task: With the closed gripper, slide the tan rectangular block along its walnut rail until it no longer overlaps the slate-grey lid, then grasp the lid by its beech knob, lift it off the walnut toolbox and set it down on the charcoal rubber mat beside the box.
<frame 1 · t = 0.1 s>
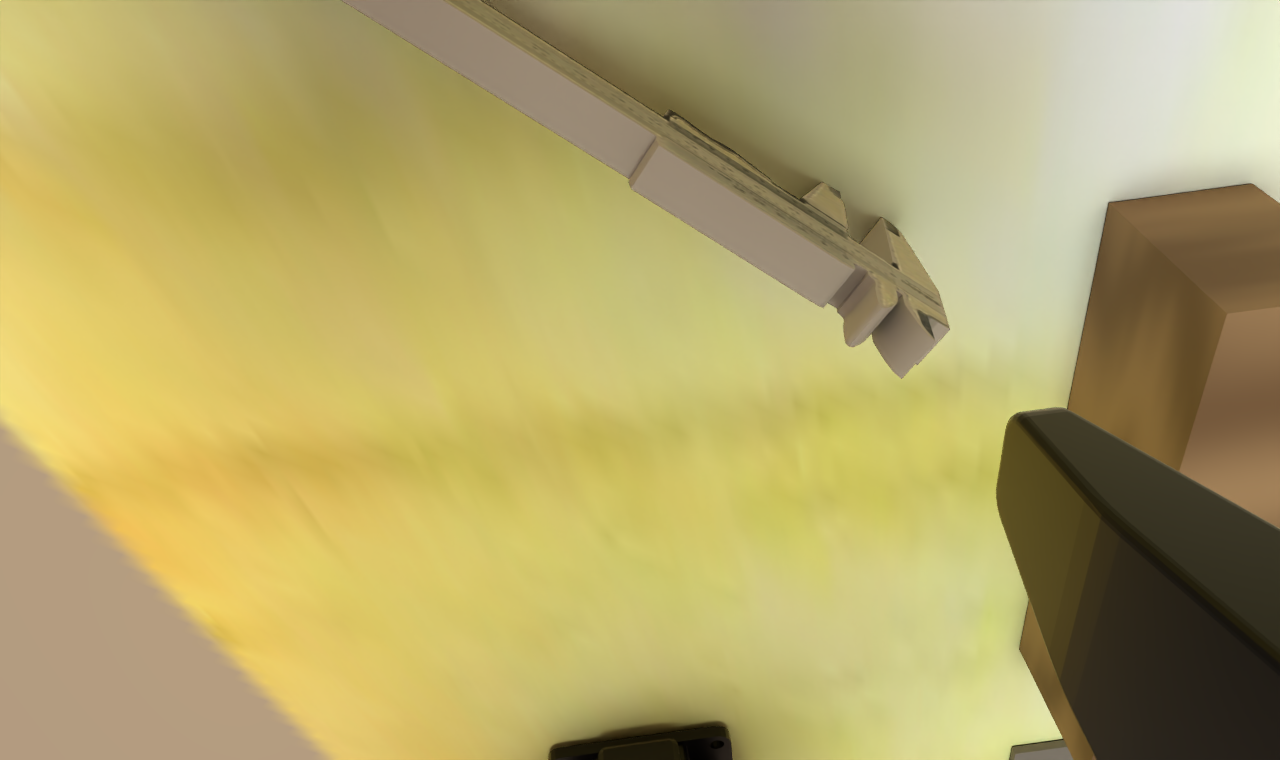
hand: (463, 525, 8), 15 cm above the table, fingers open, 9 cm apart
caliper: (507, 17, 20), on the table
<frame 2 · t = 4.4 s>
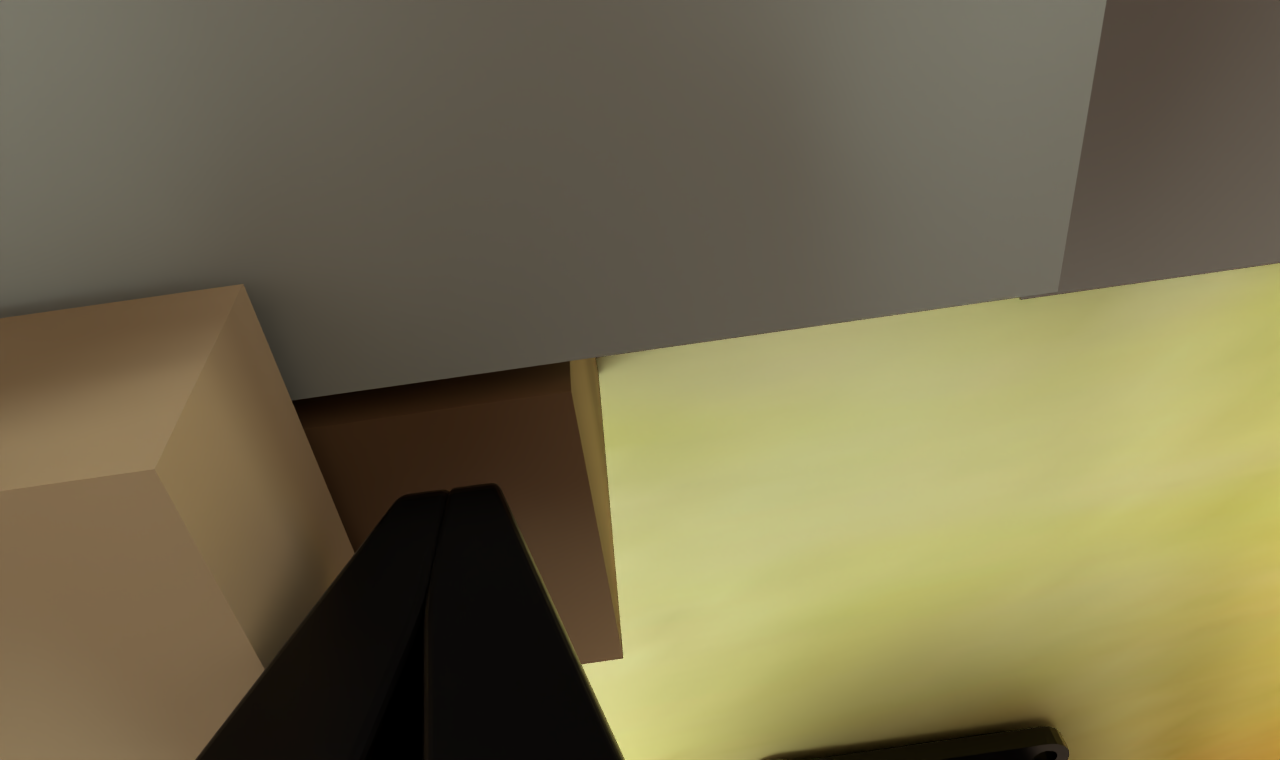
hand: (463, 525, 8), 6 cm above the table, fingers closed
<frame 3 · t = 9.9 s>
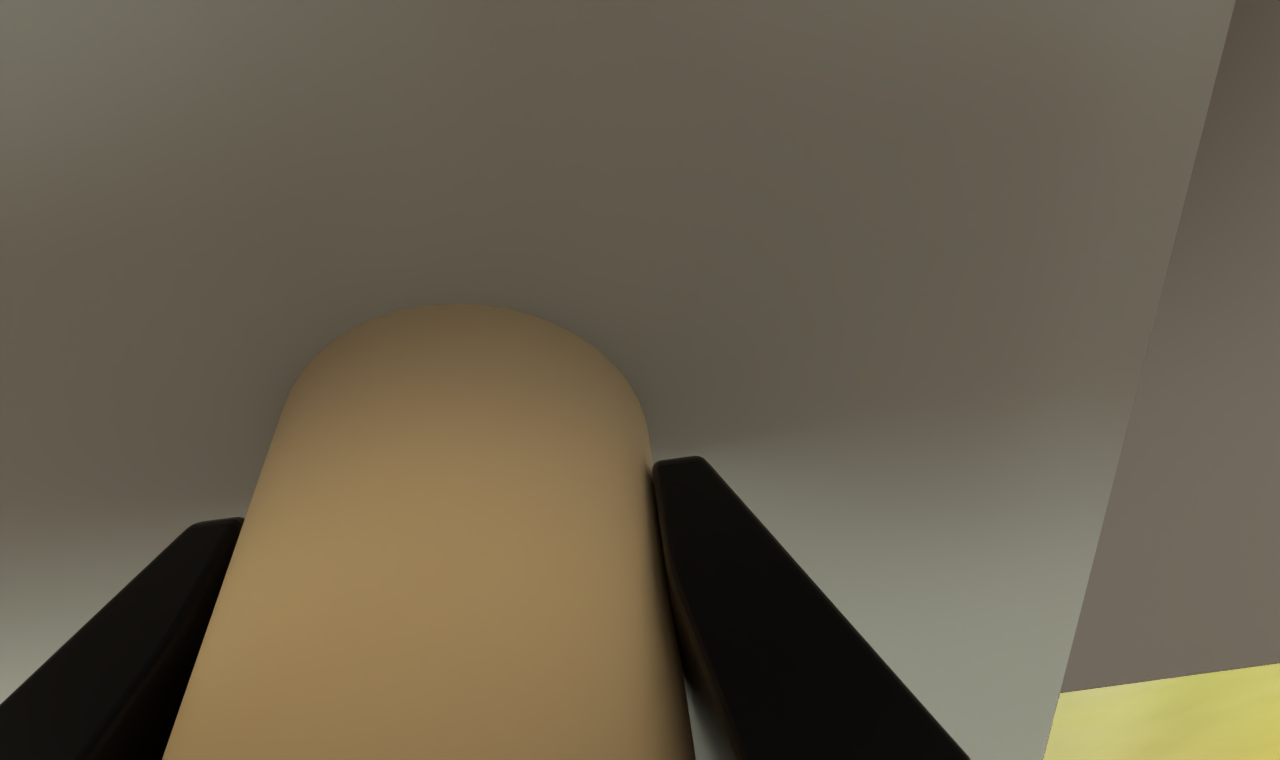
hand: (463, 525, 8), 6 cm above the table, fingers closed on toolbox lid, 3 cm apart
toolbox lid: (474, 390, 9), point 4 cm above the table, touching gripper, toolbox
when the fingers open (4 cm above the table, at t = 14.2 s): toolbox lid drops 2 cm, resting on lid mat.
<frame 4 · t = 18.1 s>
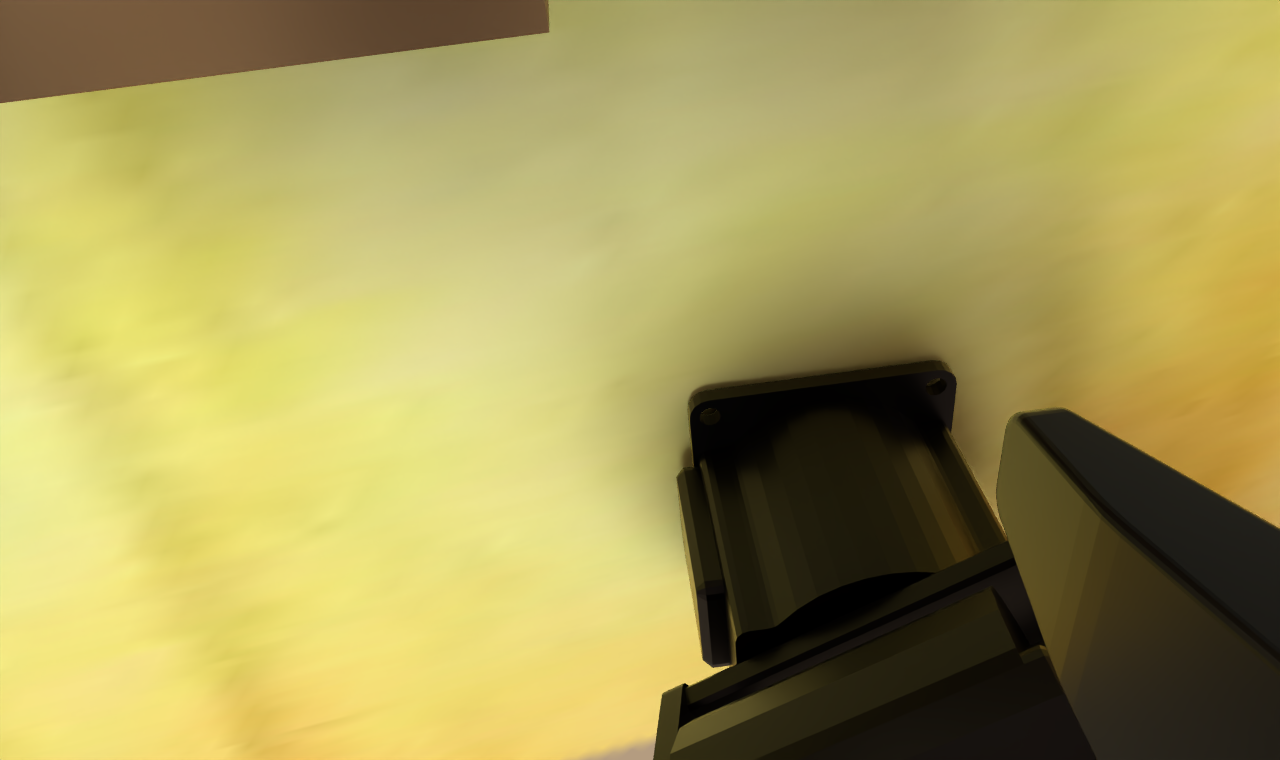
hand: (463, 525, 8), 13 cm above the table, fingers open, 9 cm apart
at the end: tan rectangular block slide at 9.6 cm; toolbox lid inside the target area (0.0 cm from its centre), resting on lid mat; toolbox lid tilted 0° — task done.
